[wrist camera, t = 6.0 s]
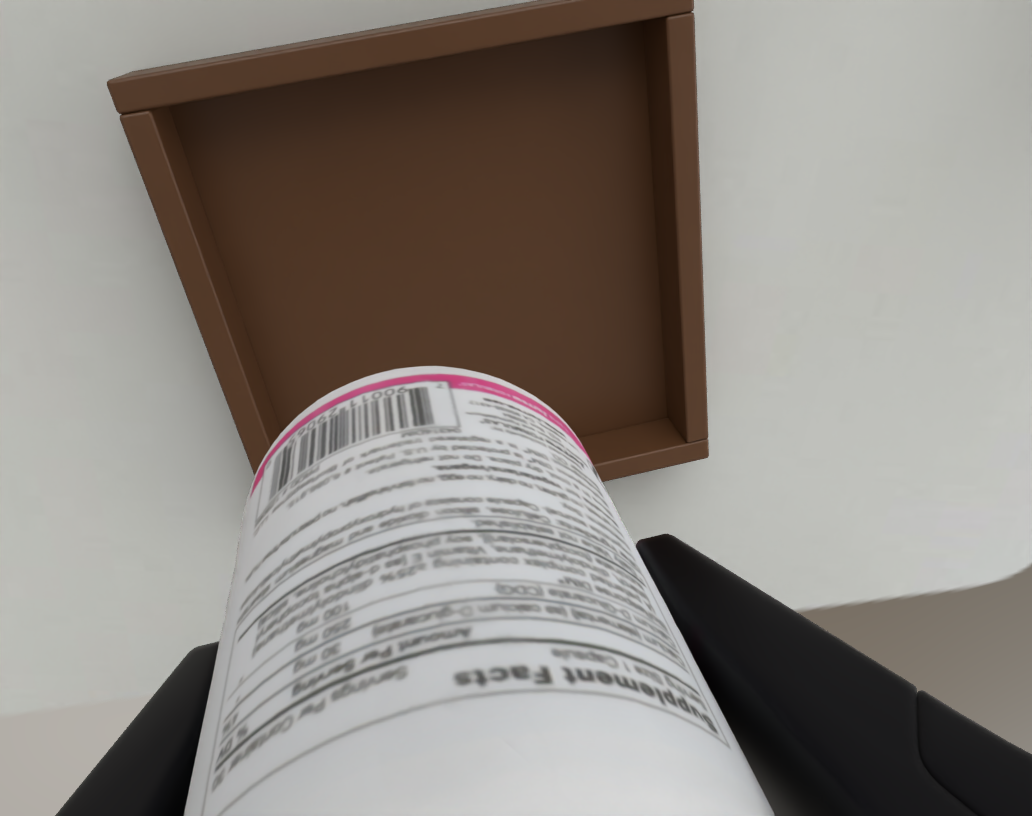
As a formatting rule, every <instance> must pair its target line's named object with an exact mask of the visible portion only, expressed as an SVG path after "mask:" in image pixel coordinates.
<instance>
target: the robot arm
mask: <svg viewBox="0 0 1032 816" xmlns="http://www.w3.org/2000/svg"><path fill="white" fill-rule="evenodd" d="M636 549H637V551H638V553H639V555H640V557H641V559H642V560H643V562H644V564H645V566H646V568H647V570H648V572H649V574H650V576H651V578H652V579H653V581H654V583H655V585H656V587H657V589H658V591H659V593H660V594H661V596H662V598H663V600H664V602H665V604H666V605H667V607H668V609H669V611H670V613H671V615H672V617H673V619H674V622H675V624H676V626H677V627H678V629H679V630H680V632H681V634H682V636H683V638H684V640H685V642H686V644H687V646H688V648H689V650H690V652H691V654H692V656H693V658H694V660H695V662H696V664H697V666H698V667H699V669H700V671H701V673H702V675H703V677H704V679H705V681H706V683H707V684H708V686H709V688H710V690H711V692H712V694H713V696H714V698H715V700H716V702H717V704H718V705H719V707H720V709H721V711H722V713H723V715H724V717H725V719H726V721H727V723H728V725H729V727H730V729H731V730H732V732H733V734H734V736H735V738H736V740H737V742H738V744H739V746H740V748H741V750H742V752H743V754H744V755H745V757H746V759H747V761H748V763H749V765H750V767H751V769H752V771H753V773H754V775H755V777H756V779H757V781H758V783H759V785H760V787H761V789H762V791H763V793H764V795H765V797H766V799H767V801H768V803H769V804H770V806H771V808H772V810H773V812H774V815H775V816H1032V754H1030V753H1028V752H1026V751H1024V750H1023V749H1021V748H1019V747H1017V746H1015V745H1013V744H1011V743H1009V742H1008V741H1006V740H1005V739H1003V738H1001V737H999V736H998V735H996V734H994V733H993V732H991V731H989V730H988V729H986V728H984V727H982V726H981V725H979V724H977V723H975V722H974V721H972V720H971V719H969V718H967V717H966V716H964V715H962V714H960V713H959V712H957V711H955V710H954V709H952V708H951V707H949V706H947V705H946V704H944V703H942V702H941V701H939V700H938V699H936V698H934V697H933V696H931V695H930V694H928V693H926V692H925V691H918V692H917V689H916V687H915V686H914V685H913V684H911V683H909V682H908V681H907V680H905V679H903V678H902V677H900V676H898V675H897V674H895V673H894V672H892V671H890V670H889V669H887V668H886V667H884V666H882V665H881V664H879V663H877V662H876V661H874V660H872V659H871V658H869V657H868V656H866V655H865V654H863V653H861V652H860V651H858V650H856V649H855V648H853V647H852V646H850V645H848V644H847V643H845V642H843V641H842V640H840V639H839V638H837V637H836V636H834V635H832V634H831V633H829V632H828V631H826V630H824V629H823V628H821V627H819V626H818V625H816V624H814V623H813V622H811V621H810V620H808V619H806V618H805V617H803V616H802V615H800V614H798V613H797V612H795V611H794V610H792V609H790V608H789V607H787V606H786V605H784V604H782V603H781V602H779V601H778V600H776V599H774V598H773V597H771V596H769V595H768V594H766V593H765V592H763V591H761V590H760V589H758V588H757V587H755V586H753V585H752V584H750V583H748V582H747V581H745V580H744V579H742V578H740V577H739V576H737V575H736V574H734V573H732V572H731V571H729V570H728V569H726V568H724V567H723V566H721V565H719V564H718V563H716V562H715V561H713V560H711V559H710V558H708V557H707V556H705V555H703V554H702V553H700V552H699V551H697V550H695V549H694V548H692V547H690V546H689V545H687V544H686V543H684V542H682V541H681V540H679V539H678V538H676V537H674V536H672V535H669V534H662V535H658V536H654V537H650V538H646V539H641V540H639V541H638V542H637V544H636ZM218 646H219V642H215V643H210V644H206V645H202V646H198V647H196V648H194V649H192V650H191V651H190V652H189V653H188V654H187V655H186V657H185V658H184V659H183V660H182V661H181V663H180V664H179V665H178V666H177V668H176V669H175V670H174V671H173V672H172V674H171V675H170V676H169V677H168V679H167V680H166V681H165V682H164V683H163V685H162V686H161V687H160V688H159V690H158V691H157V692H156V693H155V694H154V696H153V697H152V698H151V699H150V701H149V702H148V703H147V704H146V705H145V707H144V708H143V709H142V710H141V712H140V713H139V714H138V715H137V716H136V718H135V719H134V720H133V721H132V723H131V724H130V725H129V726H128V727H127V729H126V730H125V731H124V732H123V734H122V735H121V736H120V737H119V738H118V740H117V741H116V742H115V743H114V745H113V746H112V747H111V748H110V749H109V751H108V752H107V753H106V755H105V756H104V757H103V758H102V759H101V760H100V762H99V763H98V764H97V765H96V767H95V768H94V769H93V770H92V771H91V773H90V774H89V775H88V776H87V778H86V779H85V780H84V781H83V782H82V784H81V785H80V786H79V788H78V789H77V790H76V791H75V792H74V794H73V795H72V796H71V797H70V798H69V800H68V801H67V802H66V803H65V804H64V806H63V807H62V808H61V809H60V811H59V812H58V813H57V814H56V815H55V816H184V811H185V807H186V802H187V797H188V792H189V787H190V782H191V778H192V773H193V768H194V763H195V758H196V753H197V749H198V744H199V739H200V734H201V729H202V724H203V720H204V715H205V710H206V706H207V701H208V696H209V691H210V687H211V682H212V677H213V672H214V667H215V662H216V656H217V651H218Z"/></svg>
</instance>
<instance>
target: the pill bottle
mask: <svg viewBox="0 0 1032 816" xmlns="http://www.w3.org/2000/svg"><path fill="white" fill-rule="evenodd" d="M184 816H775V815H774V812H773V810H772V808H771V806H770V804H769V803H768V801H767V799H766V797H765V795H764V793H763V791H762V789H761V787H760V785H759V783H758V781H757V779H756V777H755V775H754V773H753V771H752V769H751V767H750V765H749V763H748V761H747V759H746V757H745V755H744V754H743V752H742V750H741V748H740V746H739V744H738V742H737V740H736V738H735V736H734V734H733V732H732V730H731V729H730V727H729V725H728V723H727V721H726V719H725V717H724V715H723V713H722V711H721V709H720V707H719V705H718V704H717V702H716V700H715V698H714V696H713V694H712V692H711V690H710V688H709V686H708V684H707V683H706V681H705V679H704V677H703V675H702V673H701V671H700V669H699V667H698V666H697V664H696V662H695V660H694V658H693V656H692V654H691V652H690V650H689V648H688V646H687V644H686V642H685V640H684V638H683V636H682V634H681V632H680V630H679V629H678V627H677V626H676V624H675V622H674V619H673V617H672V615H671V613H670V611H669V609H668V607H667V605H666V604H665V602H664V600H663V598H662V596H661V594H660V593H659V591H658V589H657V587H656V585H655V583H654V581H653V579H652V578H651V576H650V574H649V572H648V570H647V568H646V566H645V564H644V562H643V560H642V559H641V557H640V555H639V553H638V551H637V549H636V547H635V545H634V543H633V541H632V539H631V537H630V535H629V533H628V531H627V529H626V528H625V526H624V524H623V522H622V520H621V518H620V516H619V514H618V512H617V510H616V508H615V506H614V504H613V502H612V500H611V498H610V496H609V494H608V492H607V491H606V489H605V487H604V485H603V483H602V481H601V479H600V477H599V475H598V474H597V472H596V470H595V468H594V466H593V464H592V462H591V460H590V458H589V456H588V454H587V453H586V451H585V449H584V447H583V446H582V444H581V442H580V441H579V439H578V438H577V436H576V435H575V433H574V432H573V431H572V429H571V428H570V427H569V426H568V424H567V423H566V422H565V421H564V420H563V419H562V418H561V417H560V416H559V415H558V414H557V413H556V412H555V411H554V410H552V409H551V408H550V407H549V406H548V405H546V404H545V403H543V402H542V401H541V400H539V399H538V398H536V397H535V396H533V395H532V394H530V393H528V392H526V391H525V390H523V389H521V388H519V387H517V386H515V385H513V384H511V383H509V382H506V381H504V380H502V379H499V378H496V377H493V376H490V375H487V374H483V373H479V372H475V371H470V370H466V369H460V368H452V367H444V366H420V367H408V368H400V369H394V370H389V371H385V372H381V373H377V374H374V375H370V376H367V377H364V378H362V379H359V380H356V381H354V382H351V383H349V384H347V385H345V386H342V387H340V388H338V389H336V390H334V391H332V392H330V393H329V394H327V395H325V396H324V397H322V398H320V399H319V400H317V401H316V402H315V403H313V404H312V405H311V406H309V407H308V408H307V409H305V410H304V411H303V412H302V413H301V414H299V415H298V416H297V417H296V418H295V419H294V420H293V421H292V422H291V423H290V424H289V425H288V426H287V427H286V428H285V429H284V431H283V432H282V433H281V434H280V435H279V436H278V438H277V439H276V440H275V442H274V443H273V444H272V446H271V447H270V449H269V450H268V452H267V454H266V455H265V457H264V458H263V460H262V462H261V464H260V466H259V468H258V470H257V472H256V474H255V477H254V480H253V482H252V485H251V488H250V491H249V494H248V497H247V501H246V504H245V509H244V514H243V519H242V524H241V529H240V535H239V541H238V548H237V558H236V564H235V569H234V574H233V579H232V583H231V588H230V592H229V597H228V602H227V607H226V613H225V619H224V623H223V627H222V632H221V636H220V641H219V646H218V651H217V656H216V662H215V667H214V672H213V677H212V682H211V687H210V691H209V696H208V701H207V706H206V710H205V715H204V720H203V724H202V729H201V734H200V739H199V744H198V749H197V753H196V758H195V763H194V768H193V773H192V778H191V782H190V787H189V792H188V797H187V802H186V807H185V811H184Z"/></svg>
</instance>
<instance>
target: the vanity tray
mask: <svg viewBox="0 0 1032 816" xmlns="http://www.w3.org/2000/svg"><path fill="white" fill-rule="evenodd" d="M693 9H694V0H537V1H531V2H526V3H520V4H514V5H509V6H503V7H497V8H492V9H486V10H480V11H474V12H469V13H463V14H457V15H452V16H446V17H440V18H435V19H429V20H423V21H417V22H412V23H406V24H400V25H395V26H389V27H383V28H378V29H372V30H366V31H360V32H355V33H349V34H343V35H338V36H332V37H326V38H321V39H315V40H309V41H303V42H298V43H292V44H286V45H281V46H275V47H269V48H264V49H258V50H252V51H246V52H241V53H235V54H229V55H224V56H218V57H212V58H206V59H201V60H195V61H189V62H184V63H178V64H172V65H167V66H161V67H155V68H149V69H144V70H138V71H132V72H130V73H127V74H125V75H122V76H119V77H116V78H113V79H111V80H109V81H107V86H108V89H109V92H110V94H111V97H112V100H113V102H114V105H115V107H116V110H117V112H118V113H119V114H122V115H121V116H120V121H121V123H122V126H123V129H124V131H125V134H126V137H127V139H128V142H129V145H130V147H131V150H132V152H133V155H134V158H135V160H136V163H137V166H138V168H139V171H140V174H141V176H142V179H143V182H144V184H145V187H146V189H147V192H148V195H149V197H150V200H151V203H152V205H153V208H154V211H155V213H156V216H157V219H158V221H159V224H160V226H161V229H162V232H163V234H164V237H165V240H166V242H167V245H168V248H169V250H170V253H171V256H172V258H173V261H174V264H175V266H176V269H177V271H178V274H179V277H180V279H181V282H182V285H183V287H184V290H185V293H186V295H187V298H188V301H189V303H190V306H191V308H192V311H193V314H194V316H195V319H196V322H197V324H198V327H199V330H200V332H201V335H202V338H203V340H204V343H205V346H206V348H207V351H208V353H209V356H210V359H211V361H212V364H213V367H214V369H215V372H216V375H217V377H218V380H219V383H220V385H221V388H222V390H223V393H224V396H225V398H226V401H227V404H228V406H229V409H230V412H231V414H232V417H233V420H234V422H235V425H236V427H237V430H238V433H239V435H240V438H241V441H242V443H243V446H244V449H245V451H246V454H247V457H248V459H249V462H250V465H251V467H252V470H253V472H254V475H255V474H256V472H257V470H258V468H259V466H260V464H261V462H262V460H263V458H264V457H265V455H266V454H267V452H268V450H269V449H270V447H271V446H272V444H273V443H274V442H275V440H276V439H277V438H278V436H279V435H280V434H281V433H282V432H283V431H284V429H285V428H286V427H287V426H288V425H289V424H290V423H291V422H292V421H293V420H294V419H295V418H296V417H297V416H298V415H299V414H301V413H302V412H303V411H304V410H305V409H307V408H308V407H309V406H311V405H312V404H313V403H315V402H316V401H317V400H319V399H320V398H322V397H324V396H325V395H327V394H329V393H330V392H332V391H334V390H336V389H338V388H340V387H342V386H345V385H347V384H349V383H351V382H354V381H356V380H359V379H362V378H364V377H367V376H370V375H374V374H377V373H381V372H385V371H389V370H394V369H400V368H408V367H420V366H444V367H452V368H460V369H466V370H470V371H475V372H479V373H483V374H487V375H490V376H493V377H496V378H499V379H502V380H504V381H506V382H509V383H511V384H513V385H515V386H517V387H519V388H521V389H523V390H525V391H526V392H528V393H530V394H532V395H533V396H535V397H536V398H538V399H539V400H541V401H542V402H543V403H545V404H546V405H548V406H549V407H550V408H551V409H552V410H554V411H555V412H556V413H557V414H558V415H559V416H560V417H561V418H562V419H563V420H564V421H565V422H566V423H567V424H568V426H569V427H570V428H571V429H572V431H573V432H574V433H575V435H576V436H577V438H578V439H579V441H580V442H581V444H582V446H583V447H584V449H585V451H586V453H587V454H588V456H589V458H590V460H591V462H592V464H593V466H594V468H595V470H596V472H597V474H598V475H599V477H600V479H601V481H602V482H604V481H609V480H613V479H617V478H622V477H626V476H630V475H635V474H639V473H644V472H648V471H652V470H657V469H661V468H665V467H670V466H674V465H678V464H683V463H687V462H691V461H696V460H700V459H704V458H708V456H709V449H708V439H707V438H708V416H707V386H706V356H705V325H704V295H703V265H702V234H701V204H700V174H699V143H698V113H697V82H696V52H695V22H694V13H692V12H691V11H693Z"/></svg>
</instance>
